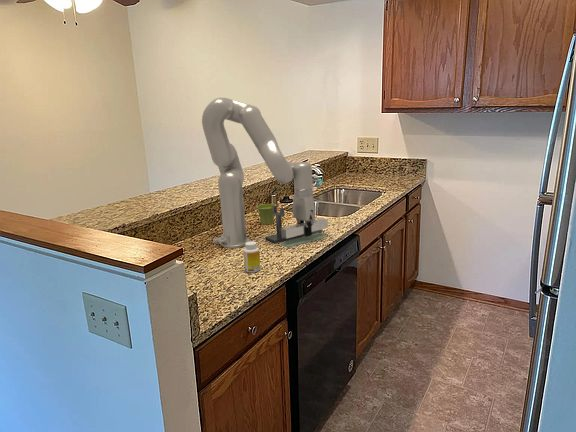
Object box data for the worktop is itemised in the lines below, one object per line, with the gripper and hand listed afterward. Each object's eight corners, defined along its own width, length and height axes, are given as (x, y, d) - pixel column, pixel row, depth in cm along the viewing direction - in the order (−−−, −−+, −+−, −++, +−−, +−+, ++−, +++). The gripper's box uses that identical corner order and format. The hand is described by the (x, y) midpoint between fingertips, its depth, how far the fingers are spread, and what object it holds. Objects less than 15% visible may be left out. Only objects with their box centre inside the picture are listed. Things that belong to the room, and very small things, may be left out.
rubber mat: (287, 247, 180) (287, 246, 180) (280, 244, 185) (280, 243, 185) (327, 236, 192) (327, 235, 192) (319, 234, 196) (319, 232, 196)
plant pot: (273, 226, 211) (272, 208, 209) (254, 225, 214) (253, 208, 212) (279, 221, 220) (278, 204, 217) (262, 220, 223) (261, 203, 220)
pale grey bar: (286, 238, 180) (286, 230, 179) (281, 236, 183) (281, 228, 182) (327, 227, 192) (327, 219, 191) (322, 226, 195) (322, 218, 194)
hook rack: (274, 244, 186) (272, 210, 182) (265, 240, 191) (263, 207, 187) (322, 231, 200) (321, 200, 196) (312, 228, 205) (312, 197, 202)
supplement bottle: (263, 269, 158) (262, 242, 156) (252, 274, 155) (250, 246, 152) (253, 266, 162) (251, 239, 160) (241, 270, 158) (239, 243, 156)
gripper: (284, 191, 188) (286, 232, 193) (308, 196, 175) (310, 241, 179) (298, 188, 192) (300, 228, 197) (323, 193, 179) (324, 237, 183)
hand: (305, 234), depth 188 cm, fingers closed on pale grey bar, 3 cm apart
